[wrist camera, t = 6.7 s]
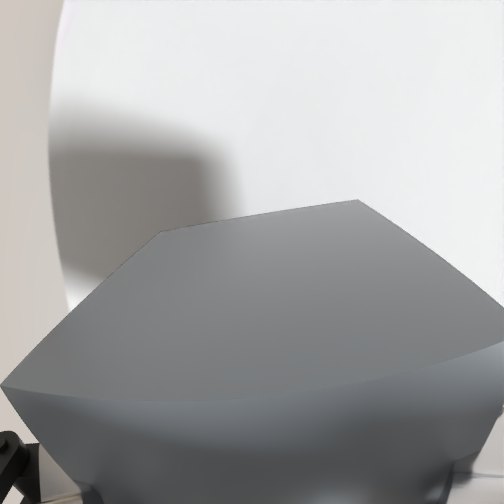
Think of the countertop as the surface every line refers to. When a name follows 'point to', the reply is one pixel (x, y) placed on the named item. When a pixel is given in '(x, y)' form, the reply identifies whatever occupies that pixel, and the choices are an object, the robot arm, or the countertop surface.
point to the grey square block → (270, 366)
